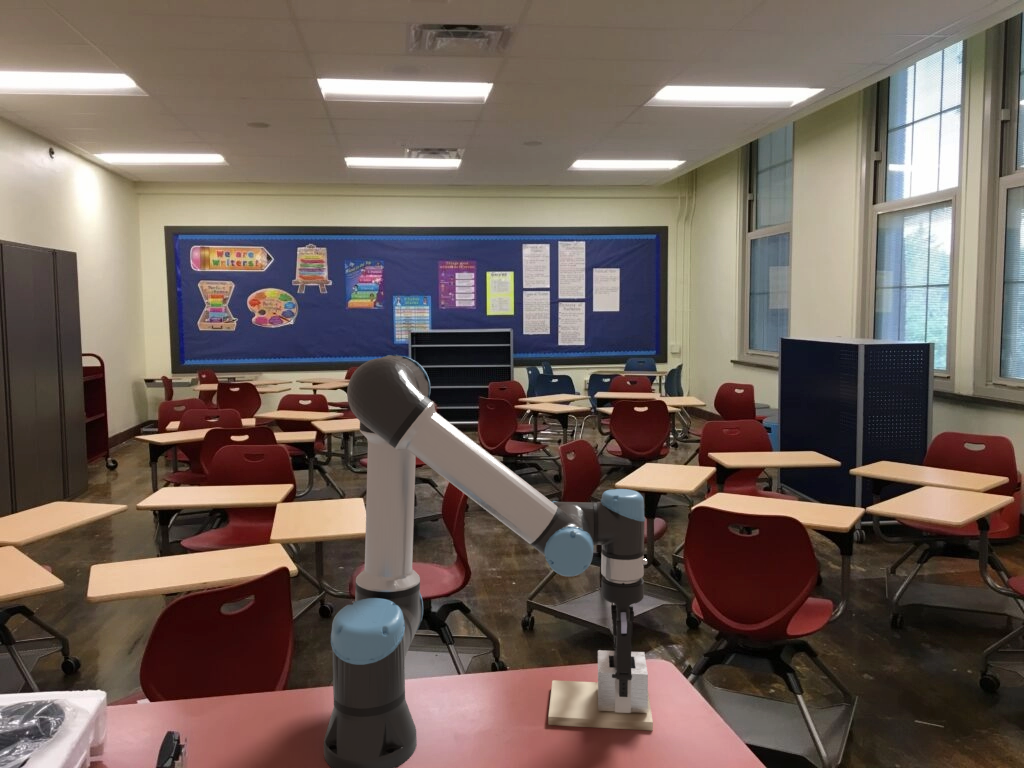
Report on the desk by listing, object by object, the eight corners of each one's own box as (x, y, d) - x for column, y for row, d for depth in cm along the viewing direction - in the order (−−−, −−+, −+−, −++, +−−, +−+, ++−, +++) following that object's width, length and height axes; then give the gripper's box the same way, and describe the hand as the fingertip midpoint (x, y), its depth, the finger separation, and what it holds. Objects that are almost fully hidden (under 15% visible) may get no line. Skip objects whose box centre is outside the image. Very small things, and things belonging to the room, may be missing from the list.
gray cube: (598, 710, 127) (598, 672, 127) (597, 686, 136) (597, 650, 135) (647, 712, 127) (647, 674, 126) (644, 688, 135) (644, 652, 134)
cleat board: (548, 724, 126) (548, 661, 125) (552, 687, 139) (552, 630, 138) (652, 730, 124) (653, 666, 123) (647, 692, 137) (647, 633, 136)
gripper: (648, 600, 118) (647, 732, 120) (639, 558, 140) (638, 670, 141) (602, 598, 119) (601, 729, 121) (600, 556, 140) (600, 669, 142)
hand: (621, 697), depth 131 cm, fingers closed on gray cube, 9 cm apart
